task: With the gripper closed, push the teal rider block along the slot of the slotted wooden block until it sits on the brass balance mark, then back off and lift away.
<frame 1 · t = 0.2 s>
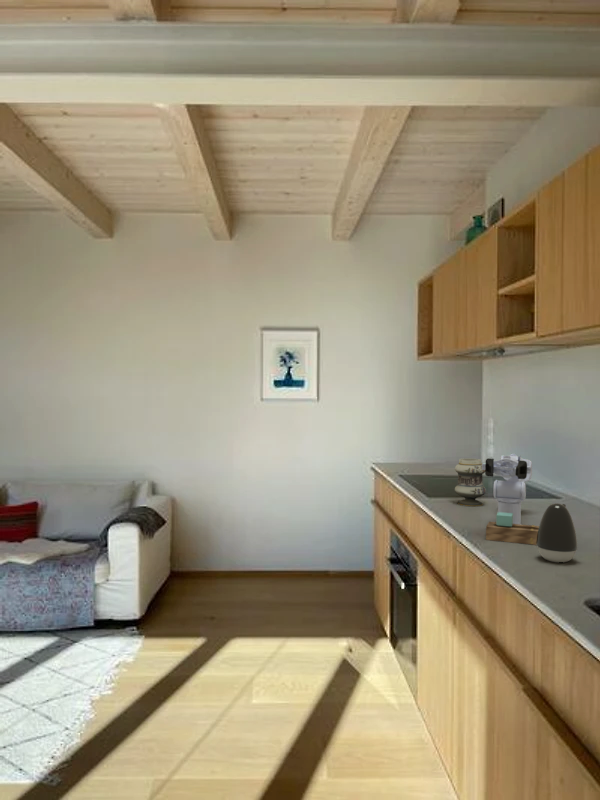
hand: (503, 470, 186), 21 cm above the worktop, tool horizontal, fingers open, 7 cm apart
slotted wooden block: (528, 541, 187), on the worktop
rider: (504, 522, 189), point 5 cm above the worktop, slide at -7.0 cm
apothecary jar: (469, 504, 247), on the worktop
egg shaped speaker: (556, 560, 166), on the worktop
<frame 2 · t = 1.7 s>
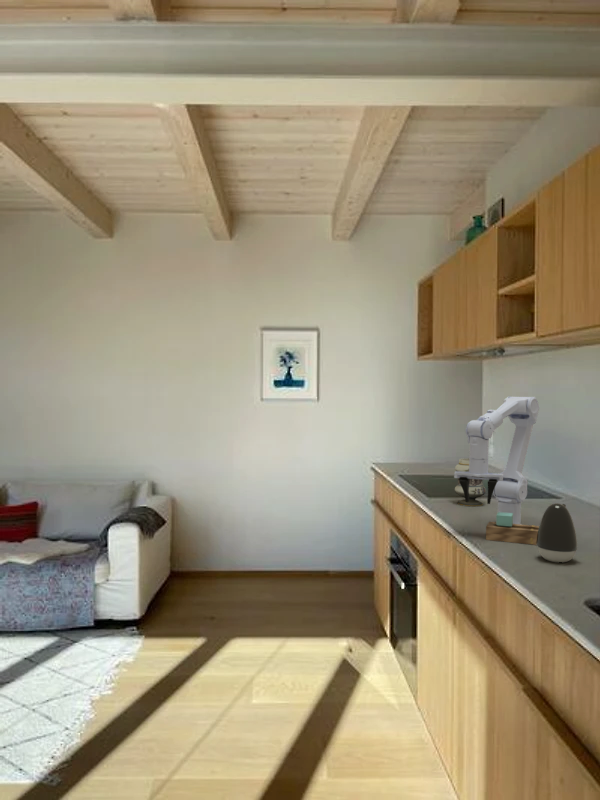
hand: (478, 502, 192), 10 cm above the worktop, tool pointing down, fingers open, 6 cm apart
nothing on the worktop moved.
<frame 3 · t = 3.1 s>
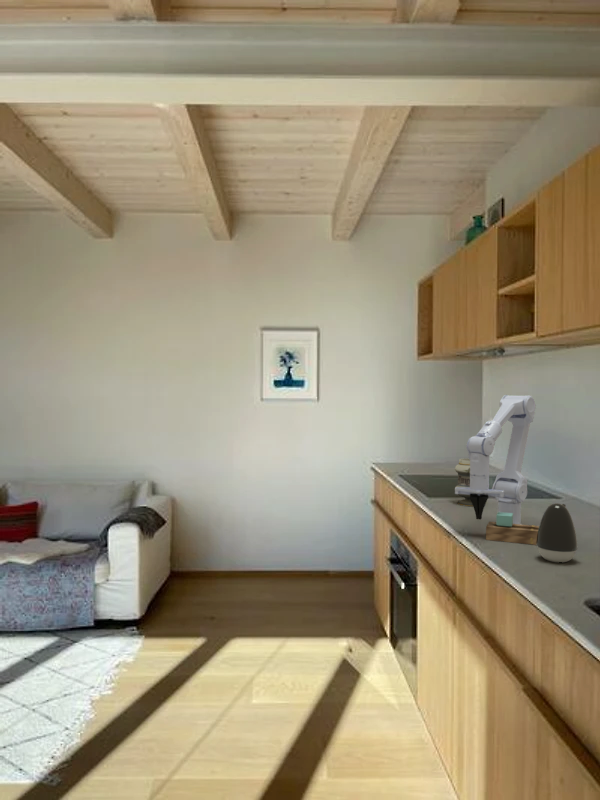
hand: (478, 518, 192), 5 cm above the worktop, tool pointing down, fingers closed
nothing on the worktop moved.
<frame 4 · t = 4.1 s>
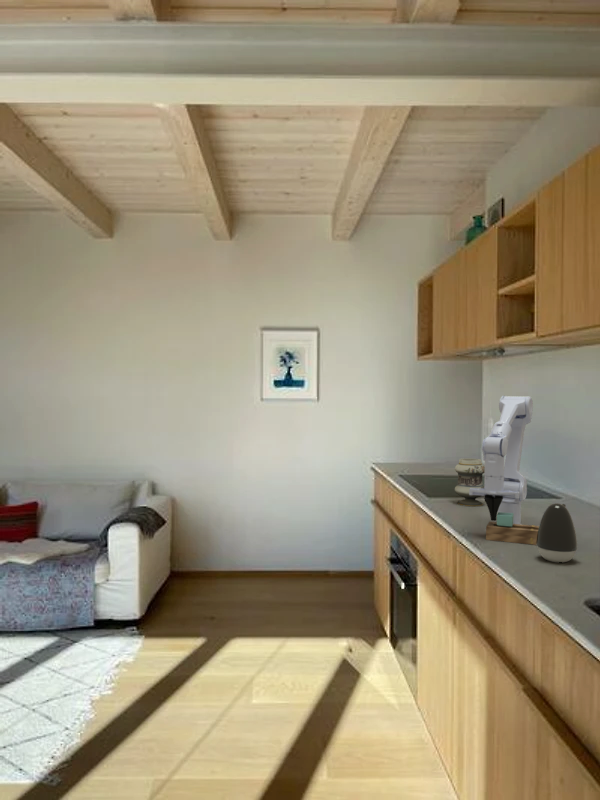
hand: (493, 520, 191), 5 cm above the worktop, tool pointing down, fingers closed
rider: (505, 522, 189), point 5 cm above the worktop, slide at -6.9 cm, touching gripper
everything else where it was.
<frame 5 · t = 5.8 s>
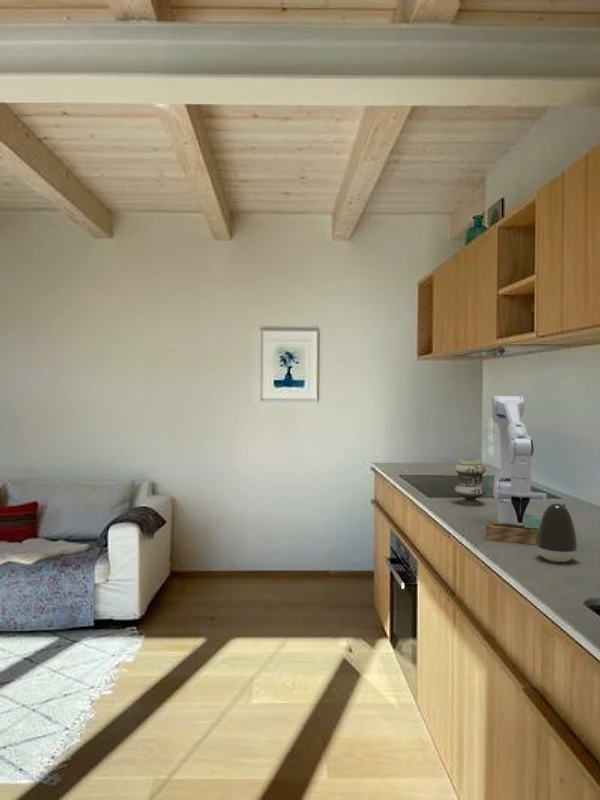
hand: (520, 522, 187), 5 cm above the worktop, tool pointing down, fingers closed
rider: (532, 525, 186), point 5 cm above the worktop, slide at 0.9 cm, touching gripper
everything else where it was.
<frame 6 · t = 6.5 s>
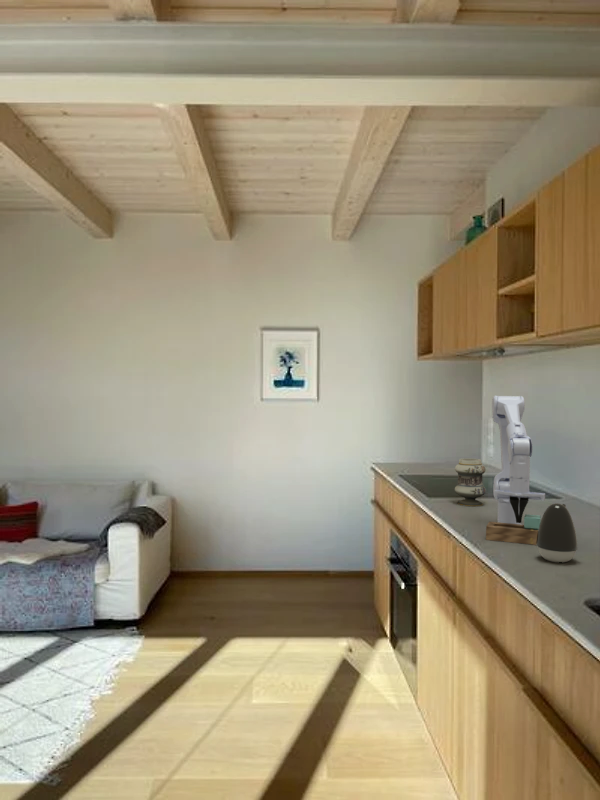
hand: (518, 522, 188), 5 cm above the worktop, tool pointing down, fingers closed
rider: (532, 525, 186), point 5 cm above the worktop, slide at 0.9 cm
everything else where it was.
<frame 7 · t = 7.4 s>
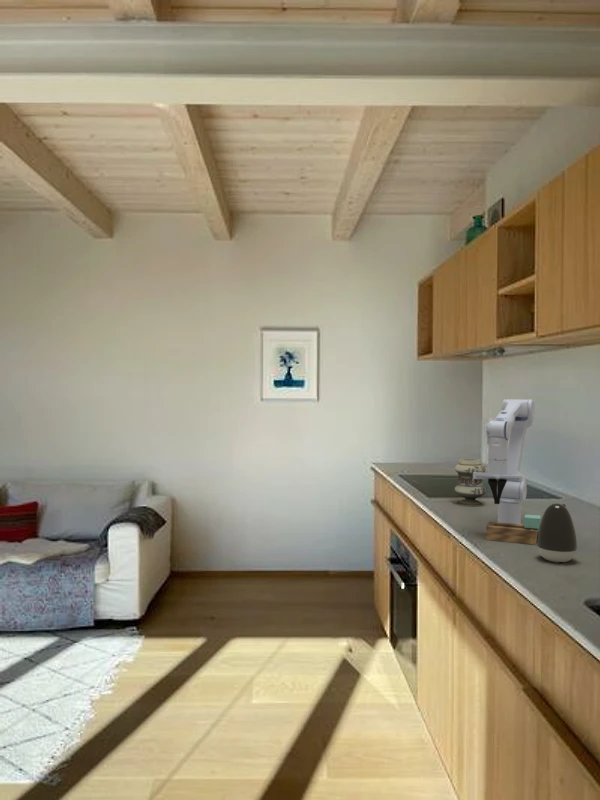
hand: (497, 503, 191), 10 cm above the worktop, tool pointing down, fingers closed
nothing on the worktop moved.
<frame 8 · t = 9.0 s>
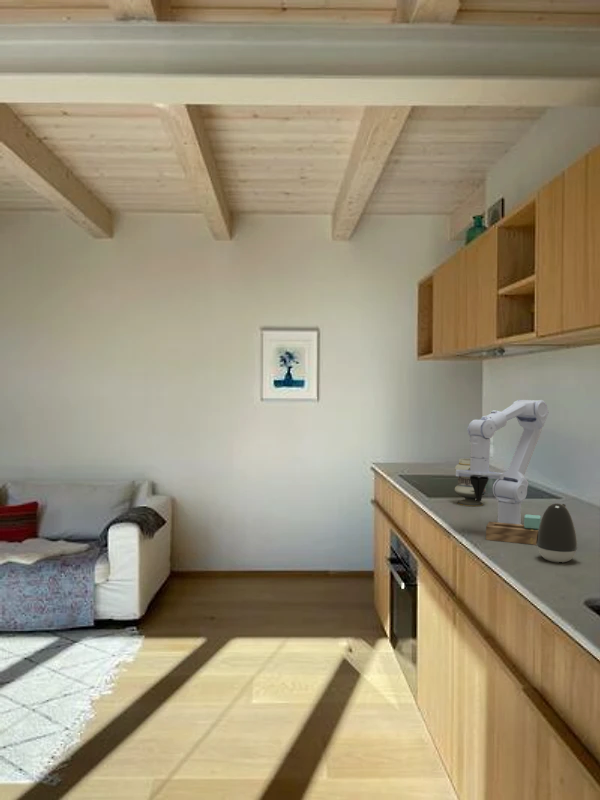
hand: (478, 500, 196), 10 cm above the worktop, tool pointing down, fingers closed
nothing on the worktop moved.
at the end: rider slide at 0.9 cm; rider 0.1 cm from the target spot, resting on slotted wooden block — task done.
